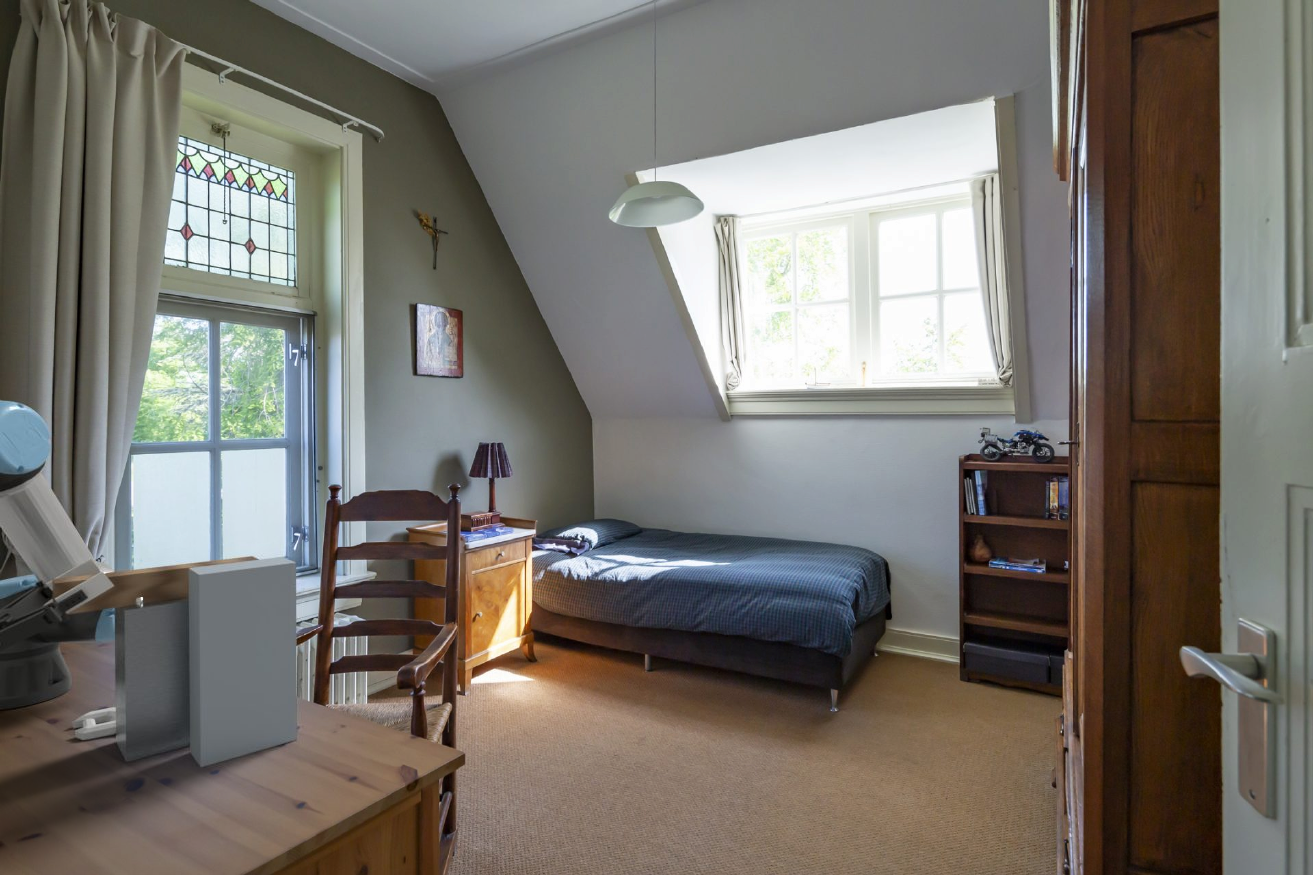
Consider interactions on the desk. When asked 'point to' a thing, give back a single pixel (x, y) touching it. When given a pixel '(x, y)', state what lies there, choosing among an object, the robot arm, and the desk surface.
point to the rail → (138, 585)
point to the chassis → (152, 677)
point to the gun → (96, 724)
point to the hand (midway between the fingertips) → (102, 571)
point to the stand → (242, 658)
